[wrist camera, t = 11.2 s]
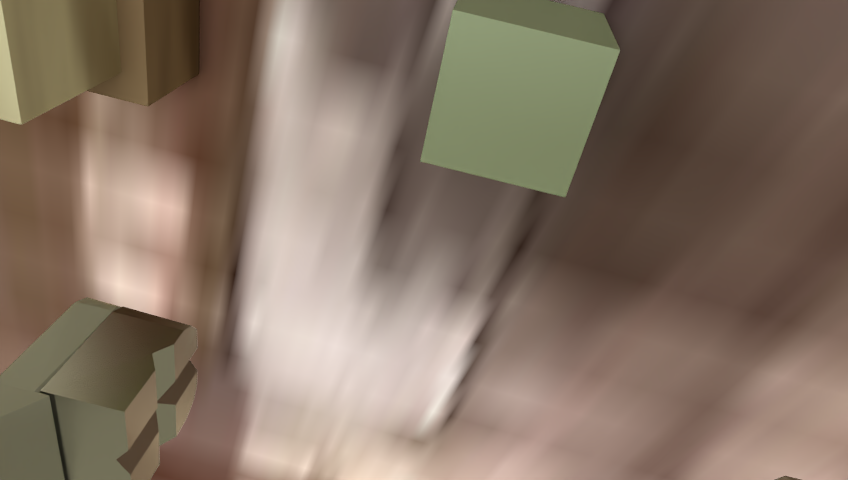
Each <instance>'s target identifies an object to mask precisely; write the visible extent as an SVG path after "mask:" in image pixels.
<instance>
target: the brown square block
mask: <svg viewBox="0 0 848 480" xmlns="http://www.w3.org/2000/svg"><path fill="white" fill-rule="evenodd" d="M116 3H117V18H118V32H119V47H120V62H121V73H119V74H118V75H116V76H114V77H112V78H110V79H108V80H106V81H104V82H102V83H100V84H98V85H96V86H95V87H93V88H91V89H89V90H87V91H89V92H93V93H97V94H101V95H105V96H109V97H113V98H117V99H121V100H125V101H129V102H133V103H136V104H140V105H144V106H150V105H151V104H153V103H154V102H156V101H157V100H159V99H161V98H162V97H164V96H165V95H167V94H168V93H170V92H171V91H173V90H174V89H176V88H177V87H179V86H181V85H182V84H184V83H185V82H187V81H188V80H190V79H191V78H193V77H194V76H196V75H198V74H199V0H116Z"/></svg>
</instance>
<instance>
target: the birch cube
mask: <svg viewBox="0 0 848 480" xmlns="http://www.w3.org/2000/svg"><path fill="white" fill-rule="evenodd" d="M119 73H121V62H120V47H119V32H118V18H117V3H116V0H0V119H2V120H6V121H9V122H13V123H17V124H21V125H22V124H24V123H26V122H28V121H30V120H32V119H33V118H35V117H37V116H39V115H41V114H43V113H45V112H47V111H49V110H51V109H53V108H54V107H56V106H58V105H60V104H62V103H64V102H66V101H68V100H70V99H72V98H74V97H75V96H77V95H79V94H81V93H83V92H85V91H87V90H89V89H91V88H93V87H95V86H96V85H98V84H100V83H102V82H104V81H106V80H108V79H110V78H112V77H114V76H116V75H118V74H119Z"/></svg>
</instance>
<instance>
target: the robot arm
mask: <svg viewBox="0 0 848 480" xmlns="http://www.w3.org/2000/svg"><path fill="white" fill-rule="evenodd" d="M197 348H198V346H197V329H195V328H194V327H192V326H190V325H186V324H183V323H179V322H176V321H172V320H169V319H165V318H161V317H158V316H154V315H151V314H147V313H144V312H140V311H136V310H133V309H129V308H126V307H119V306H116V305H112V304H109V303H105V302H102V301H98V300H95V299H91V298H84V299H82V300H79V301H77V302H75V303H74V304H73V305H72V306H71V307H69V308H68V309H67V310H66V311H65V312H64V313H63V314H62V315H61V316H60V317H59V318H58V319H57V320H56V321H55V322H54V323H53V324H52V325H51V326H50V327H49V328H48V329H47V330H46V331H45V332H44V333H43V334H42V335H41V336H40V337H39V338H38V339H37V340H36V341H35V342H34V343H33V344H31V345H30V346H29V347H28V348H27V349H26V350H25V351H24V352H23V353H22V354H21V355H20V356H19V357H18V358H17V359H16V360H15V361H14V362H13V363H12V364H11V365H10V366H9V367H8V368H7V369H6V370H5V371H4V372H3V373H2V374H1V375H0V480H150V479H151V477H152V476H153V474H154V472H155V471H156V469H157V467H158V466H159V464H160V454H159V446H160V445H162V444H163V443H165V442H167V441H169V440H171V439H173V438H174V437H176V436H177V434H178V433H179V431H180V429H181V427H182V426H183V424H184V422H185V421H186V419H187V416H188V414H189V411H190V408H191V406H192V403H193V401H194V397H195V392H196V387H197V369H196V368H195V367H194V365H193V364H192V363H191V361H190V358H191V357H192V355H193V354H194V352H195V351H196V349H197ZM775 480H801V479H797V478H792V477H788V476H783V477H780V478H778V479H775Z"/></svg>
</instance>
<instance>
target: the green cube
mask: <svg viewBox="0 0 848 480" xmlns="http://www.w3.org/2000/svg"><path fill="white" fill-rule="evenodd" d="M619 52H620V49H619V46H618V44H617V42H616V40H615V38H614V35H613V33H612V31H611V29H610V27H609V24H608V22H607V20H606V18H605V16H604V14H603V13H599V12H595V11H590V10H586V9H582V8H578V7H574V6H570V5H566V4H561V3H557V2H553V1H549V0H458V1H457V3H456V5H455V7H454V8H453V12H452V16H451V21H450V26H449V30H448V35H447V39H446V44H445V49H444V53H443V58H442V63H441V67H440V72H439V77H438V81H437V86H436V91H435V95H434V100H433V105H432V109H431V114H430V118H429V123H428V128H427V132H426V137H425V142H424V146H423V151H422V156H421V160H420V161H421V162H425V163H429V164H433V165H437V166H441V167H445V168H449V169H453V170H457V171H461V172H465V173H469V174H473V175H477V176H481V177H485V178H489V179H493V180H497V181H501V182H505V183H509V184H513V185H517V186H521V187H525V188H529V189H533V190H537V191H541V192H546V193H550V194H554V195H558V196H562V197H566V194H567V191H568V189H569V186H570V183H571V181H572V178H573V175H574V173H575V170H576V167H577V165H578V162H579V159H580V157H581V154H582V151H583V149H584V146H585V143H586V141H587V138H588V135H589V133H590V130H591V127H592V124H593V122H594V119H595V116H596V114H597V111H598V108H599V106H600V103H601V100H602V98H603V95H604V92H605V90H606V87H607V84H608V82H609V79H610V76H611V74H612V71H613V68H614V66H615V63H616V60H617V58H618V55H619Z"/></svg>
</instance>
